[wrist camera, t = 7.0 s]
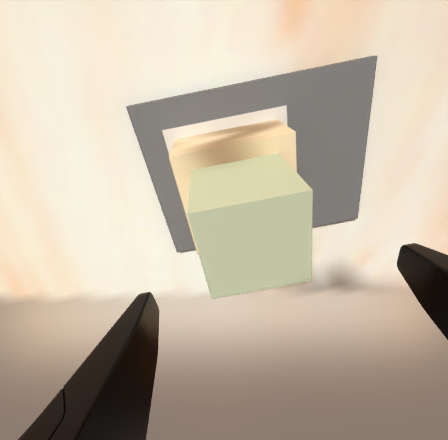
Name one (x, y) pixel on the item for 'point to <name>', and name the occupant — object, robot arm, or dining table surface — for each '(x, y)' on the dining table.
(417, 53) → the dining table surface
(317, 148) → the grey flat plate
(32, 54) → the dining table surface
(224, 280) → the green cube
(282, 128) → the maple block
